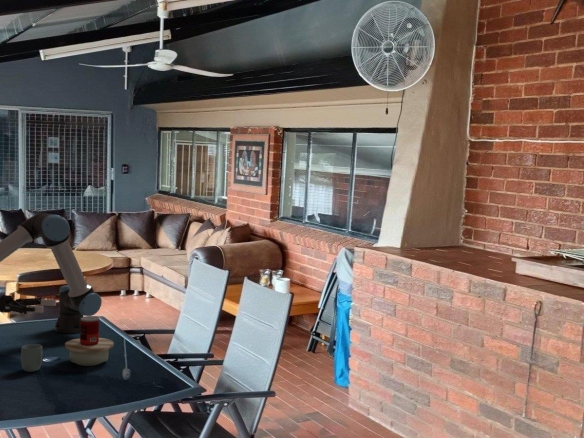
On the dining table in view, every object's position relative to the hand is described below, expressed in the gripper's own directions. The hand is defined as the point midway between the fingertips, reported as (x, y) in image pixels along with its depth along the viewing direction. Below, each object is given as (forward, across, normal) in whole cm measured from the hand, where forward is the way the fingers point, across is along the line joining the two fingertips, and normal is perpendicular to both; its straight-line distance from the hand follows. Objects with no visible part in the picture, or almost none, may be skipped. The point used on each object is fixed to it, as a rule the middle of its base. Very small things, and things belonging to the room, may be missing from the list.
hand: (49, 306), depth 287 cm
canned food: (+19, +4, -15) cm, 24 cm away
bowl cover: (+19, +4, -16) cm, 25 cm away
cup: (+1, +19, -23) cm, 30 cm away
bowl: (+19, +4, -23) cm, 30 cm away
